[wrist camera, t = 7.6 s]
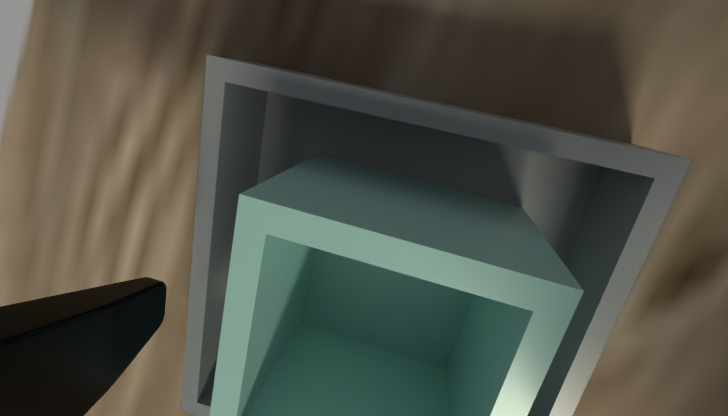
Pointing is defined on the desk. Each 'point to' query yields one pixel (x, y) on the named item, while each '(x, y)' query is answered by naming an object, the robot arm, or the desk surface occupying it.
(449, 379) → the teal crate
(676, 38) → the desk surface
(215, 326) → the grey square tray
